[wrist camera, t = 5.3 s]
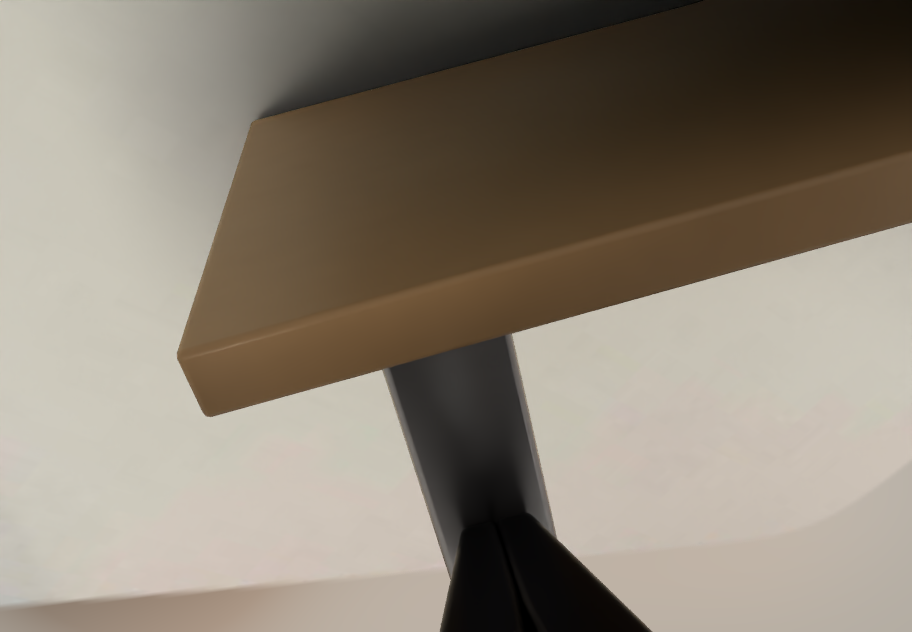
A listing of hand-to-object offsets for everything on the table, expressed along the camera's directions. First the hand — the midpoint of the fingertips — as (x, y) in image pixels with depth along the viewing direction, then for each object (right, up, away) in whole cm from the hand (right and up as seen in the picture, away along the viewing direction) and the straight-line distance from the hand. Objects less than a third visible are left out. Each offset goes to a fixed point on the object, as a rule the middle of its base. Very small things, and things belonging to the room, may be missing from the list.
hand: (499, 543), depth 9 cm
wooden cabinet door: (+4, +6, +8) cm, 11 cm away
